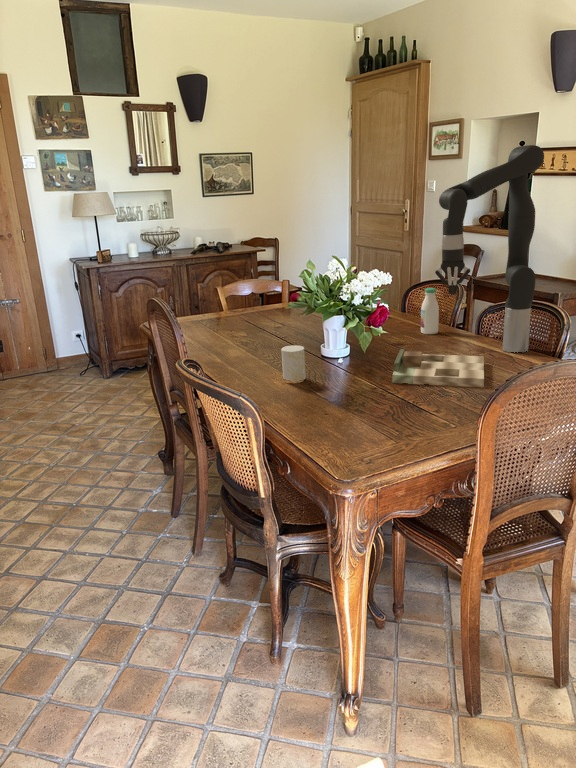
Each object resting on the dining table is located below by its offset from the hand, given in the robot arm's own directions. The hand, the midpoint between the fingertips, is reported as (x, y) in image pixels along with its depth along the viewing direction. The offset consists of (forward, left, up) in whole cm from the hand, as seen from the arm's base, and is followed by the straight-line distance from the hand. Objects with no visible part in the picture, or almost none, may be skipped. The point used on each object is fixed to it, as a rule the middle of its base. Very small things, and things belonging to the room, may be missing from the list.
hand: (452, 294), depth 214 cm
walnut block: (+12, +17, -22) cm, 31 cm away
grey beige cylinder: (+53, +32, -25) cm, 67 cm away
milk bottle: (+11, -41, -25) cm, 50 cm away
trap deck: (+3, +17, -25) cm, 30 cm away
